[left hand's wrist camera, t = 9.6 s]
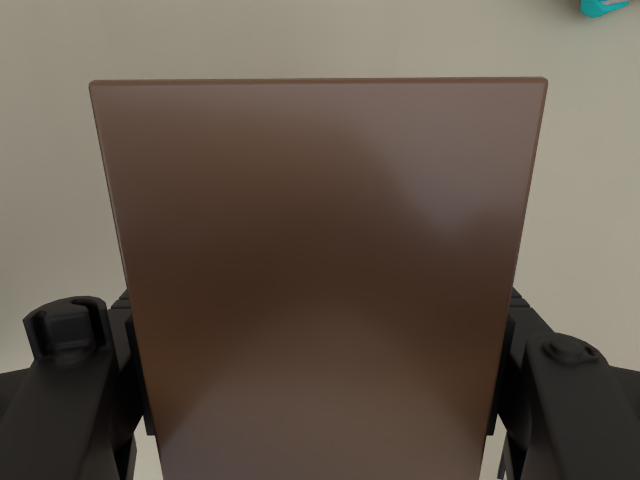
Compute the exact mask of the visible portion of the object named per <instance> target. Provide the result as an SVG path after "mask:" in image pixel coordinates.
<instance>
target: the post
mask: <svg viewBox="0 0 640 480" xmlns="http://www.w3.org/2000/svg"><path fill="white" fill-rule="evenodd" d="M547 87H548V80H547V79H546V78H544V77H449V78H313V79H177V80H94V81H92V82H90V83H89V92H90V97H91V103H92V108H93V113H94V118H95V123H96V129H97V134H98V139H99V144H100V150H101V155H102V160H103V165H104V171H105V176H106V181H107V186H108V192H109V197H110V202H111V207H112V212H113V218H114V223H115V228H116V233H117V239H118V244H119V249H120V254H121V260H122V265H123V270H124V275H125V281H126V286H127V291H128V296H129V301H130V307H131V312H132V317H133V322H134V328H135V333H136V338H137V343H138V349H139V354H140V359H141V364H142V370H143V375H144V380H145V385H146V391H147V396H148V401H149V406H150V411H151V417H152V422H153V427H154V432H155V438H156V443H157V448H158V453H159V459H160V464H161V469H162V474H163V480H479V476H480V470H481V465H482V459H483V453H484V447H485V442H486V436H487V430H488V425H489V419H490V413H491V407H492V402H493V396H494V390H495V385H496V379H497V373H498V367H499V362H500V356H501V350H502V345H503V339H504V333H505V327H506V322H507V316H508V310H509V305H510V299H511V293H512V287H513V282H514V276H515V270H516V265H517V259H518V253H519V247H520V242H521V236H522V230H523V225H524V219H525V213H526V207H527V202H528V196H529V190H530V185H531V179H532V173H533V167H534V162H535V156H536V150H537V145H538V139H539V133H540V127H541V122H542V116H543V110H544V105H545V99H546V93H547Z"/></svg>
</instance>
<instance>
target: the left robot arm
mask: <svg viewBox="0 0 640 480" xmlns="http://www.w3.org/2000/svg"><path fill="white" fill-rule="evenodd" d="M23 323H24V326H25V330H26V333H27V336H28V340H29V343H30V346H31V349H32V353H33V356H34V361H33V363H32V365H31V367H30V368H27V369H22V370H17V371H12V372H7V373H1V374H0V480H133V475H134V468H135V461H136V453H137V448H136V441H135V437H134V431H135V429H136V427H137V425H138V423H139V421H140V419H141V417H142V415H143V417H144V422H145V427H146V432H147V435H155V432H154V427H153V422H152V417H151V411H150V406H149V401H148V396H147V391H146V385H145V380H144V375H143V370H142V364H141V359H140V354H139V349H138V343H137V338H136V333H135V328H134V322H133V317H132V312H131V307H130V301H129V296H128V291H127V290H126V291H125V292H124V293H123V294H122V295H121V296H120V297H119V300H117V301H116V302H115V303H114V304H113V305H112V306H111V309H108V311H107V307H106V303H105V302H104V301H103V300H101V299H100V298H97V297H92V296H75V297H69V298H64V299H59V300H56V301H53V302H51V303H48V304H45V305H43V306H41V307H39V308H37V309H35V310H34V311H32V312H30V313H29V314H28V315H27V316H26V317H25V318H24V319H23ZM497 414H499V416H500V418H501V420H502V422H503V424H504V426H505V428H506V430H507V432H506V437H505V441H504V446H503V451H502V455H501V460H500V465H499V469H498V476H497V479H501V480H503V478H504V474H505V470H506V474H507V480H640V372H639V371H633V370H628V369H623V368H618V367H613V366H609V364H608V362H607V360H606V359H605V357H604V356H603V355H602V354H601V353H600V352H599V350H597V349H596V348H594V347H593V346H591V345H590V344H588V343H587V342H585V341H582V340H580V339H577V338H575V337H573V336H569V335H565V334H561V333H555V332H554V331H553V330H552V329H551V328H550V327H549V326H548V325H547V324H546V322H545V321H544V320H543V319H542V318H541V317H540V316H539V315H538V314H537V313H536V312H535V310H534V309H533V308H530V305H529V304H528V303H527V302H526V301H525V299H522V296H521V295H520V294H519V293H518V292H517V291H516V290H515V288H514V287H512V293H511V299H510V305H509V310H508V316H507V322H506V327H505V333H504V339H503V345H502V350H501V356H500V362H499V367H498V373H497V379H496V385H495V390H494V396H493V402H492V407H491V413H490V419H489V425H488V430H487V435H493V434H494V429H495V424H496V419H497Z"/></svg>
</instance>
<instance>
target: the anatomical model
mask: <svg viewBox="0 0 640 480" xmlns="http://www.w3.org/2000/svg"><path fill="white" fill-rule="evenodd" d="M627 4H629V0H581V8H580V10H581V11H582V13H584V14H585V15H587V16H589V17H592V18H593V17H600V16H602V15H604V14H606V13H608V12H610V11H613V10H615V9H618V8H621V7H624V6H626V5H627Z"/></svg>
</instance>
